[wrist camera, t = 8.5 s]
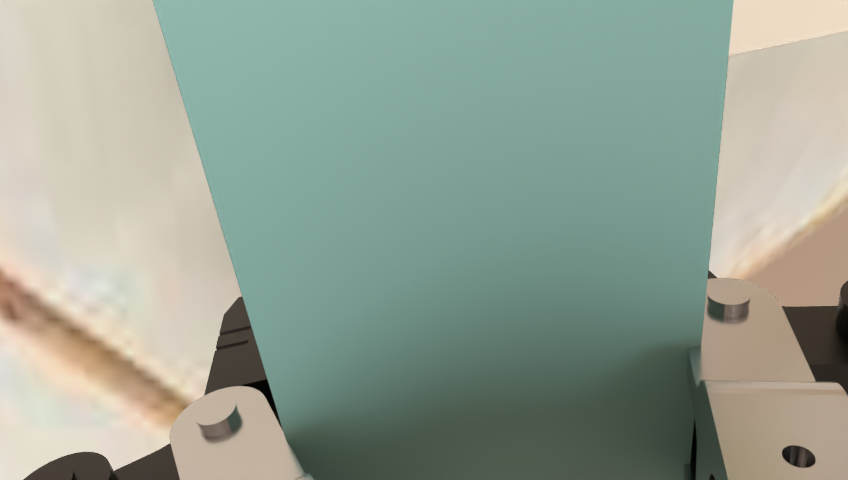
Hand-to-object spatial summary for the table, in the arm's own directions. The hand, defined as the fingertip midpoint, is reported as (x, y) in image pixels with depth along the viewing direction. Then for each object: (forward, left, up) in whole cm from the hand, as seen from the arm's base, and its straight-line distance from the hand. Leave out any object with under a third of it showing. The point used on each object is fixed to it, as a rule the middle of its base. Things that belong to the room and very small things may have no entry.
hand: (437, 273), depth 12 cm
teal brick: (0, -3, -1) cm, 3 cm away
